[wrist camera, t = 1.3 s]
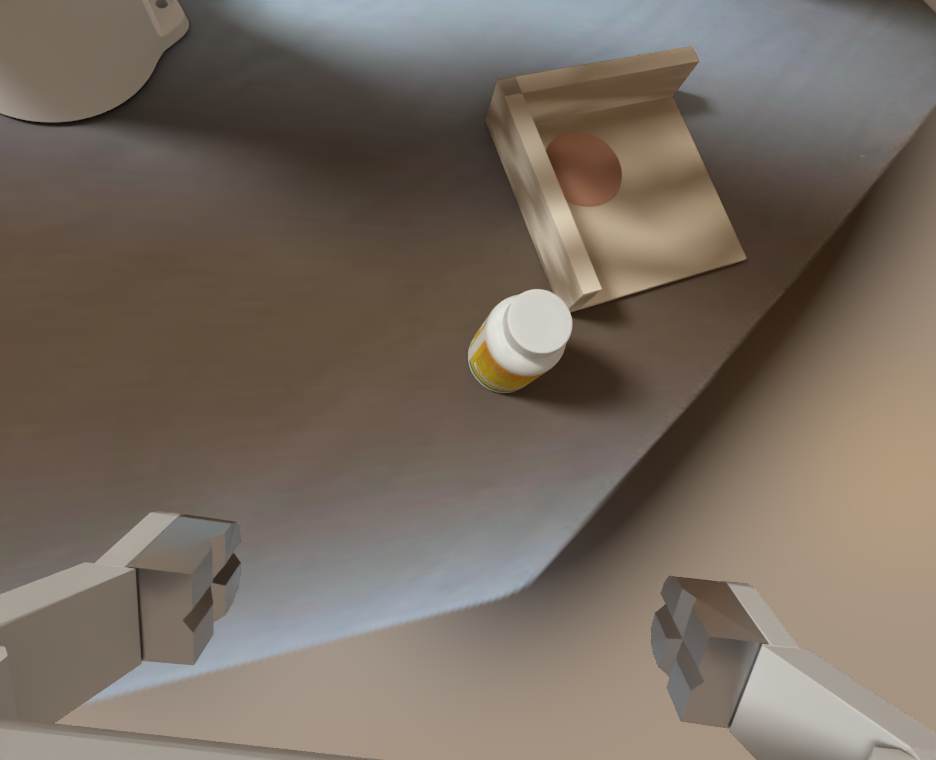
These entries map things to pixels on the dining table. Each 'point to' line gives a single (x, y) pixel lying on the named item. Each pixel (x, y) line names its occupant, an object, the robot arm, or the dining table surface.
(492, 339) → the supplement bottle
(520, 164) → the tray
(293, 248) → the dining table surface
